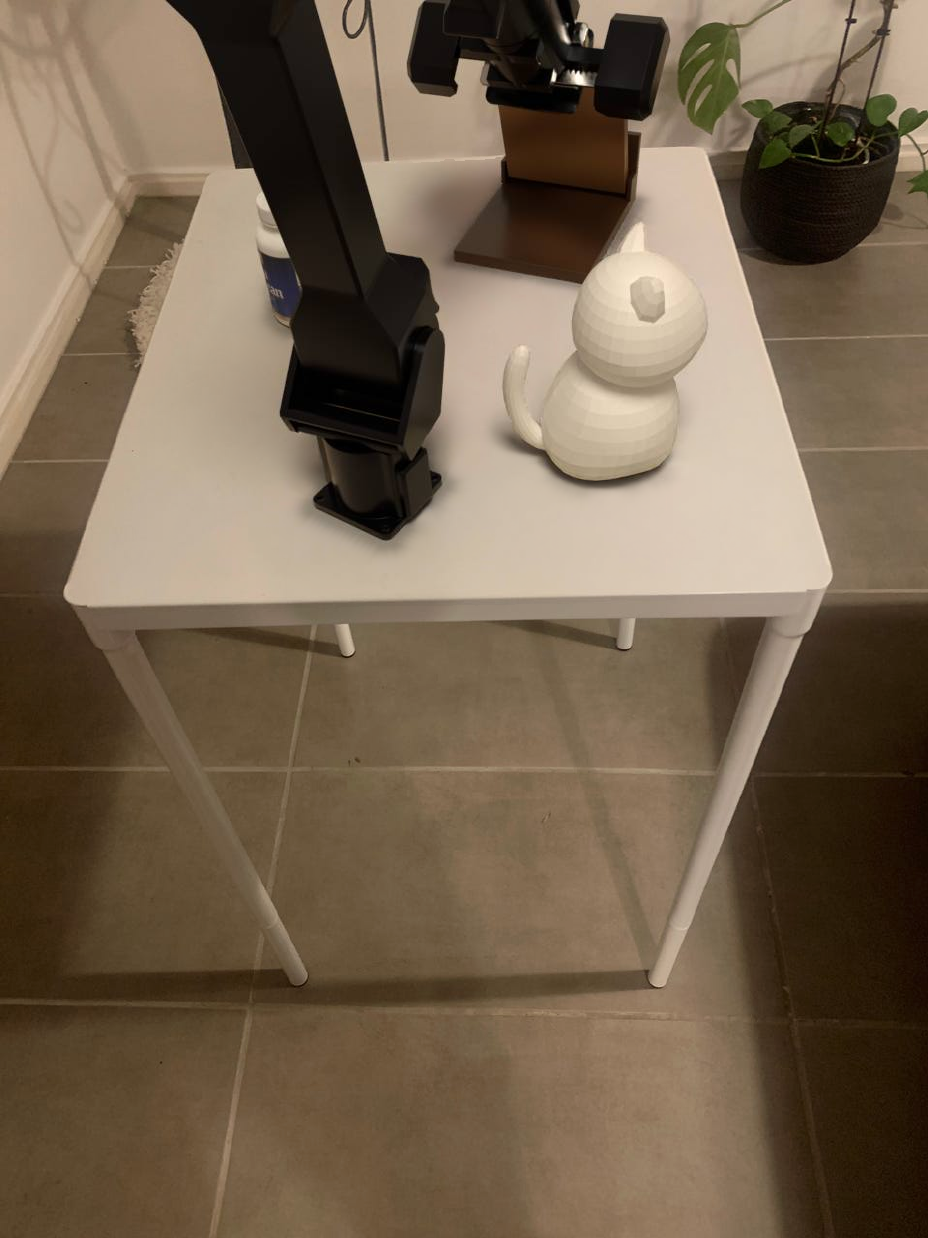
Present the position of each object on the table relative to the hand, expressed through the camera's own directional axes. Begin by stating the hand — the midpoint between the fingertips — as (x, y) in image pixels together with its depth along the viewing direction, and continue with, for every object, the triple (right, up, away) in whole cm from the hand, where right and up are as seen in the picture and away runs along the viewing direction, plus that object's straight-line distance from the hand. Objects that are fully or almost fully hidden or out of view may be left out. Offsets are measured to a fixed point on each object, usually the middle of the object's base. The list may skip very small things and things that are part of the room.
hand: (557, 107), depth 76 cm
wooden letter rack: (+1, -1, +3) cm, 3 cm away
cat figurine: (+1, -30, -11) cm, 32 cm away
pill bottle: (-21, -16, +1) cm, 26 cm away
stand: (0, -7, +6) cm, 10 cm away
